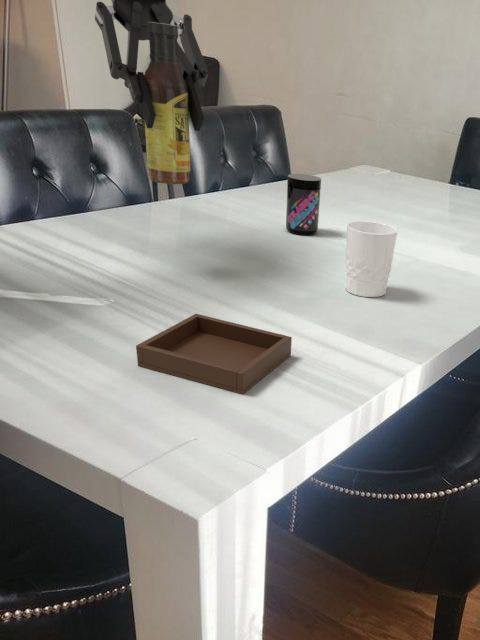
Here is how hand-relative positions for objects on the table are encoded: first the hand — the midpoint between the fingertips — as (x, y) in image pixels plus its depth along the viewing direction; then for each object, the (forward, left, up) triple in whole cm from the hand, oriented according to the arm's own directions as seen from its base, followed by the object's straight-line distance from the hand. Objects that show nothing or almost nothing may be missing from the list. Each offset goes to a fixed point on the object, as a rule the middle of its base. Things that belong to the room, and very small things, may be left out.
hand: (175, 122), depth 91 cm
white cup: (+27, +11, -22) cm, 37 cm away
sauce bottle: (-3, +2, -9) cm, 9 cm away
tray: (+21, -26, -21) cm, 40 cm away
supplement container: (+3, +39, -22) cm, 45 cm away
